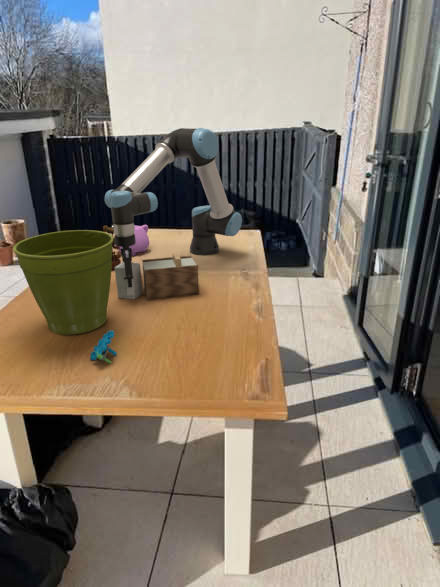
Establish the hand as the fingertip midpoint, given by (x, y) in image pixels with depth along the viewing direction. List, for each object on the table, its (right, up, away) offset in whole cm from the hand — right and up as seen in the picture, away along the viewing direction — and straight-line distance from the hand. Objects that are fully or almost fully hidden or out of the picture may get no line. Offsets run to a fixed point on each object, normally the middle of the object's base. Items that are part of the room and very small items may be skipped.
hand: (129, 288), depth 165 cm
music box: (-17, +10, +32) cm, 38 cm away
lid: (+15, +9, +1) cm, 18 cm away
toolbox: (+16, -1, +5) cm, 16 cm away
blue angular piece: (+1, -21, -42) cm, 46 cm away
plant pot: (-13, -12, -21) cm, 28 cm away
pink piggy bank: (-11, +20, +57) cm, 61 cm away
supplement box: (0, -3, +1) cm, 3 cm away
